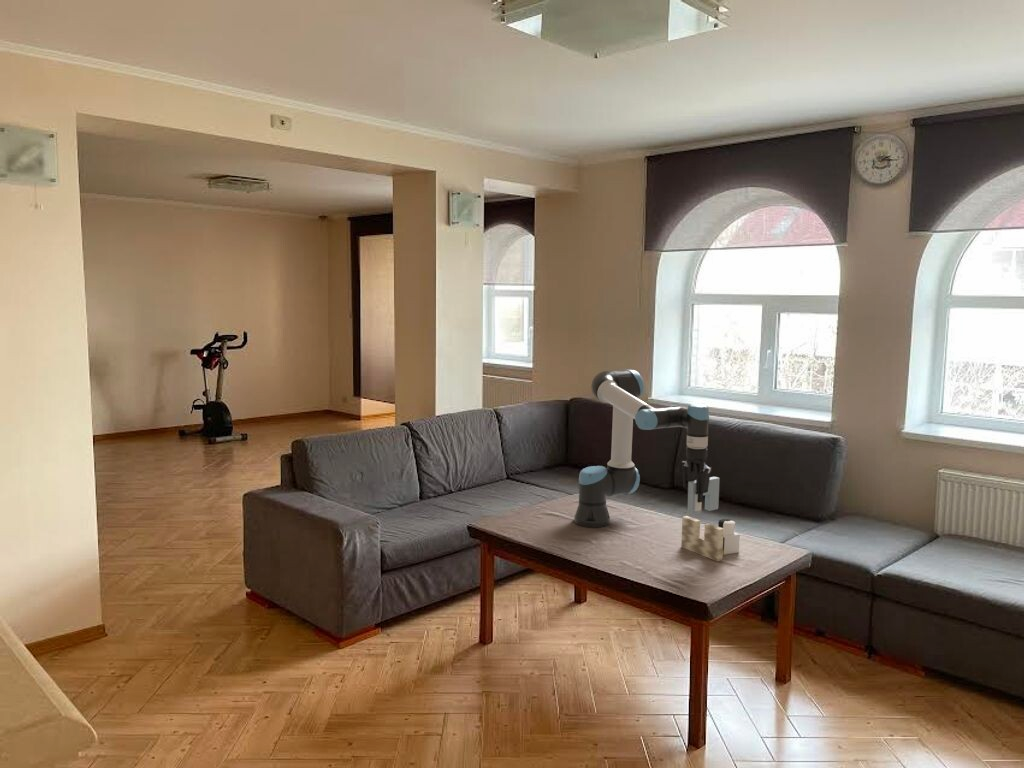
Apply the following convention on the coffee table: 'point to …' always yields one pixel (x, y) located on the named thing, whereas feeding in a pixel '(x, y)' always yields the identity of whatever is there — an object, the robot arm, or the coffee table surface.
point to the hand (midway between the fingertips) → (694, 509)
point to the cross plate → (710, 496)
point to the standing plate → (702, 538)
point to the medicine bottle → (729, 536)
